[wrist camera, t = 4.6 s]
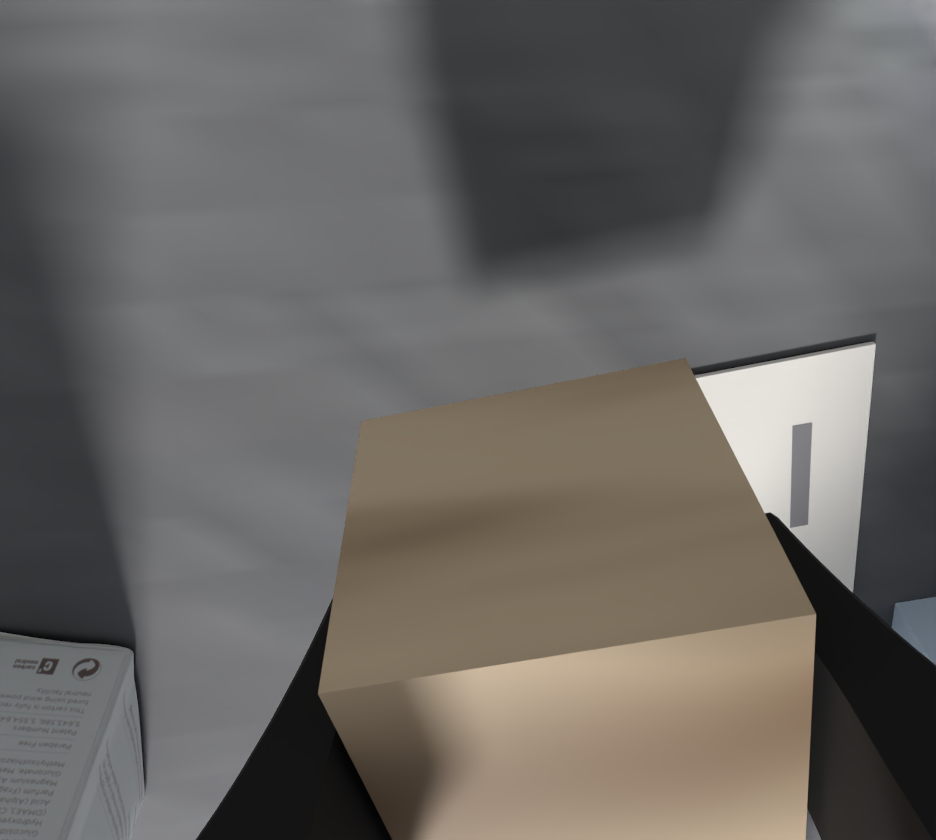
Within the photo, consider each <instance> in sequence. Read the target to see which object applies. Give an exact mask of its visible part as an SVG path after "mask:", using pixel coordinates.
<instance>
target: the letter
mask: <svg viewBox="0 0 936 840" xmlns="http://www.w3.org/2000/svg"><path fill="white" fill-rule="evenodd" d="M875 347H876V344H875V343H874V342H873V341H872V342H867V343H862V344H856V345H851V346H846V347H841V348H835V349H830V350H825V351H820V352H814V353H809V354H804V355H799V356H794V357H788V358H783V359H778V360H773V361H767V362H762V363H757V364H752V365H746V366H741V367H736V368H731V369H726V370H720V371H715V372H710V373H705V374H699V375H694V376H695V378H696V380H697V382H698V384H699V386H700V388H701V390H702V392H703V394H704V396H705V398H706V399H707V401H708V403H709V405H710V407H711V409H712V411H713V413H714V415H715V417H716V419H717V421H718V423H719V425H720V427H721V429H722V431H723V433H724V435H725V437H726V439H727V441H728V442H729V444H730V446H731V448H732V450H733V452H734V454H735V456H736V458H737V460H738V462H739V464H740V466H741V468H742V470H743V472H744V474H745V476H746V478H747V480H748V482H749V484H750V485H751V487H752V489H753V491H754V493H755V495H756V497H757V499H758V501H759V503H760V505H761V507H762V509H763V511H764V513H770V512H771V513H772V514H774V515H775V516H777V517H778V518H779V519H780V520H781V521H782V522H783V523H784V524H785V525H786V527H787V528H788V529H789V530H790V531H791V532H792V533H793V534H794V535H795V536H796V537H797V538H798V539H799V540H800V541H801V542H802V543H803V544H804V546H805V547H806V548H807V549H808V550H809V551H810V552H811V553H812V554H813V555H814V556H815V557H816V558H817V559H818V560H819V561H820V562H821V563H822V564H823V565H824V566H825V567H826V568H827V569H828V570H829V571H830V572H832V573H833V574H834V575H835V576H836V577H837V578H838V579H839V580H840V581H841V582H842V583H843V584H844V585H845V586H846V587H847V588H848V589H849V590H850V591H851V592H852V593H853V588H854V577H855V566H856V555H857V544H858V533H859V522H860V511H861V500H862V489H863V478H864V467H865V456H866V445H867V434H868V423H869V413H870V402H871V391H872V380H873V369H874V358H875Z"/></svg>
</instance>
